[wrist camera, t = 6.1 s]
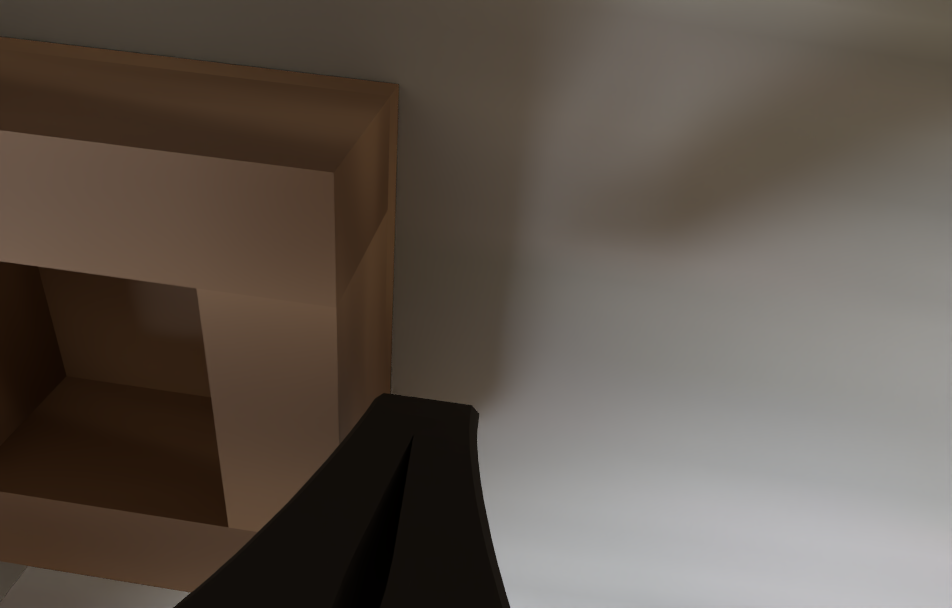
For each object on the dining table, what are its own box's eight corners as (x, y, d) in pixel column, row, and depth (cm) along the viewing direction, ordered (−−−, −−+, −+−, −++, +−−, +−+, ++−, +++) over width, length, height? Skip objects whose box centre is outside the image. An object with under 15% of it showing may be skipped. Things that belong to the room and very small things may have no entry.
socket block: (388, 469, 16) (341, 617, 13) (19, 414, 16) (-107, 544, 13) (398, 83, 11) (333, 172, 9) (-103, 24, 12) (-330, 87, 9)
